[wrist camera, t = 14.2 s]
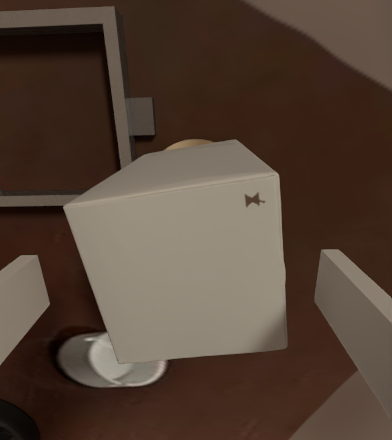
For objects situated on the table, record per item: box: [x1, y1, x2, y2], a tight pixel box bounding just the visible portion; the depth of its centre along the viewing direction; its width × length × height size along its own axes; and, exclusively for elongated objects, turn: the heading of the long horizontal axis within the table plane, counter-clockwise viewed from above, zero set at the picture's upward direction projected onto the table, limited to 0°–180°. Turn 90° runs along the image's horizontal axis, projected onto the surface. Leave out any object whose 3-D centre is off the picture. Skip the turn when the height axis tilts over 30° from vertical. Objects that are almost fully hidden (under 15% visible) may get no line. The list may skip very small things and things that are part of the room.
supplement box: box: [63, 140, 288, 364], centre depth 19 cm, size 9×9×15 cm
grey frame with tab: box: [0, 6, 156, 207], centre depth 23 cm, size 19×15×2 cm
